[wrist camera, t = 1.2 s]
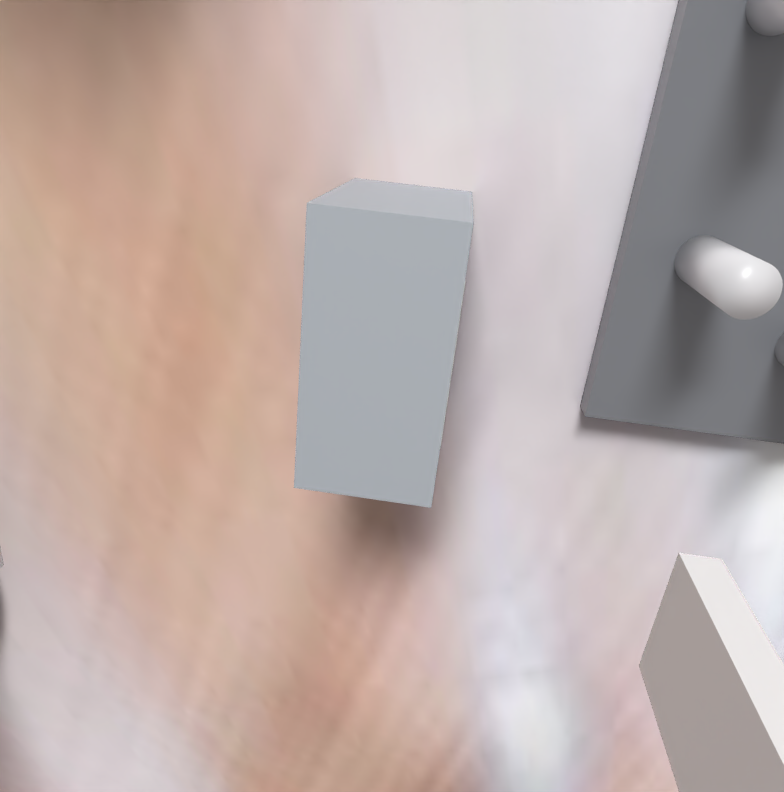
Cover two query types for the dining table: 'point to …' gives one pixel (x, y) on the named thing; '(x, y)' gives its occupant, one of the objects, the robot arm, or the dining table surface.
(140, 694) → the dining table surface
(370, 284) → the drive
